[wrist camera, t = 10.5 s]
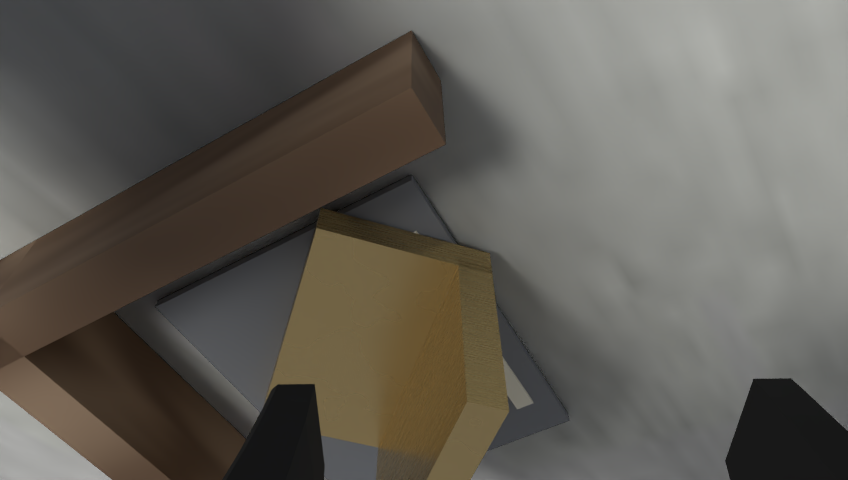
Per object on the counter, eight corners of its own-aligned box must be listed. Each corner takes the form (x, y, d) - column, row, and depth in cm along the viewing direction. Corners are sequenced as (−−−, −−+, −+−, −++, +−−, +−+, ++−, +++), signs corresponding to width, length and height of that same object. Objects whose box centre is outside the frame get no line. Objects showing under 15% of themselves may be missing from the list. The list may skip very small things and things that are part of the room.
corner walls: (-1, 260, 22) (-63, 340, 19) (411, 30, 18) (411, 87, 15) (278, 512, 29) (263, 599, 26) (617, 384, 25) (642, 469, 22)
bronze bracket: (407, 430, 26) (403, 597, 21) (264, 399, 25) (225, 565, 20) (489, 253, 21) (509, 411, 17) (320, 207, 21) (288, 360, 16)
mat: (158, 301, 23) (154, 309, 23) (411, 174, 20) (411, 181, 20) (350, 495, 28) (349, 504, 28) (567, 413, 26) (570, 422, 26)
